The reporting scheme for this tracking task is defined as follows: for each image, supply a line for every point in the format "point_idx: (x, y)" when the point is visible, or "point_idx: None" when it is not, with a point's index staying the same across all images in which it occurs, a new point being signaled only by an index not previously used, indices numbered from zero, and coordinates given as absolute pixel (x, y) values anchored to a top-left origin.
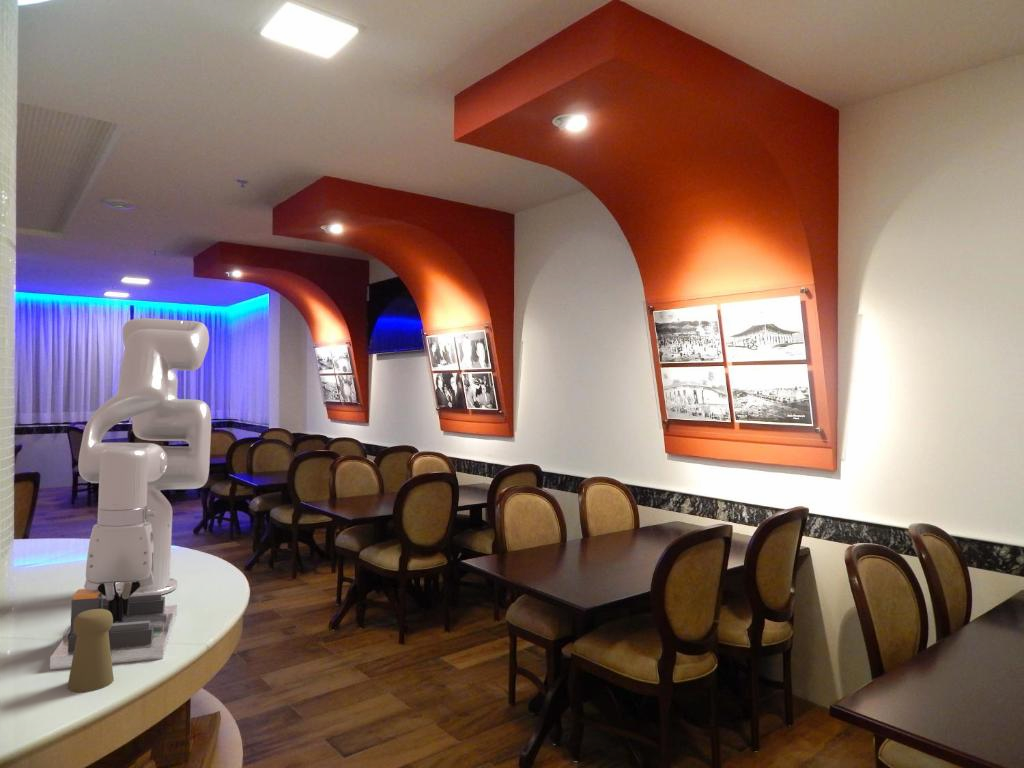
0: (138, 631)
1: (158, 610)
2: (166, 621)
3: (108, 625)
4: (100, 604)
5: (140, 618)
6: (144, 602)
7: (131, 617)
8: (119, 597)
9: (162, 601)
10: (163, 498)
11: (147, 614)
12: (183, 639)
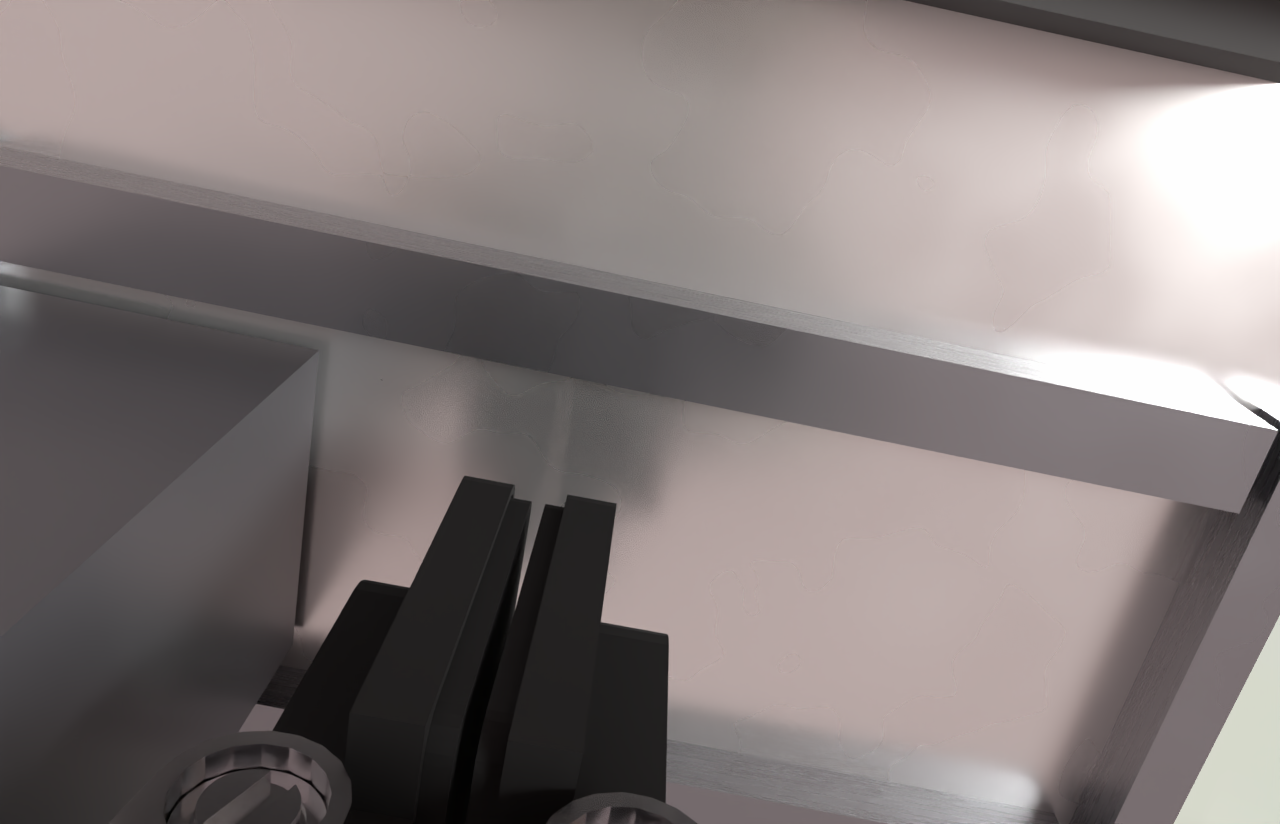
0: None
1: (1231, 70)
2: (1158, 752)
3: None
4: (113, 756)
5: (858, 435)
6: (1047, 5)
7: (732, 358)
8: (451, 790)
9: None
10: None
11: (1022, 45)
12: (1216, 769)
